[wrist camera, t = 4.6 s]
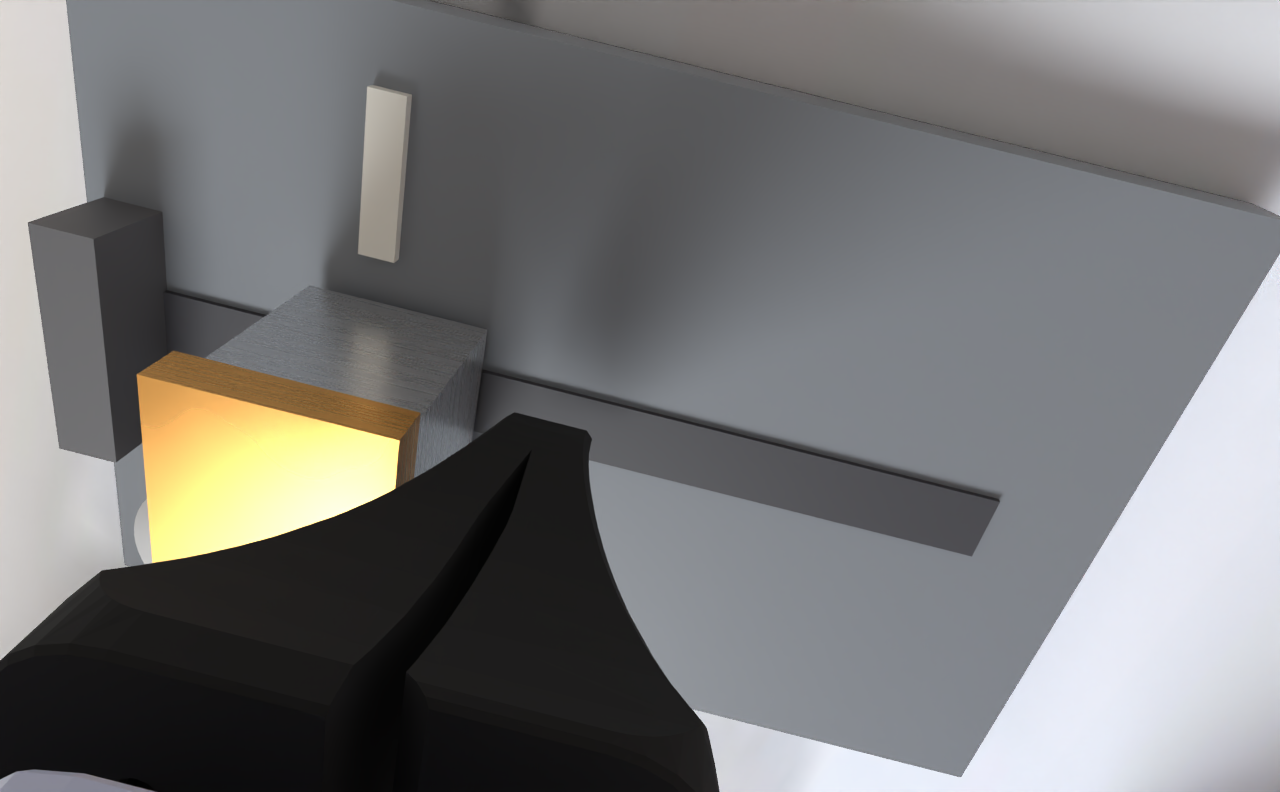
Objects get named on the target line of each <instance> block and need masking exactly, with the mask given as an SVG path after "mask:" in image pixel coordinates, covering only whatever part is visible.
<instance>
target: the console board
mask: <svg viewBox="0 0 1280 792" xmlns="http://www.w3.org/2000/svg"><path fill="white" fill-rule="evenodd" d="M66 4H67V13H68V23H69V33H70V42H71V52H72V62H73V71H74V81H75V90H76V100H77V110H78V119H79V129H80V139H81V148H82V158H83V168H84V177H85V187H86V196H87V203H85V204H82V205H79V206H76V207H73V208H70V209H67V210H64V211H61V212H58V213H55V214H52V215H49V216H46V217H43V218H40V219H37V220H34V221H31V222H28V227H29V234H30V241H31V249H32V256H33V263H34V270H35V277H36V284H37V292H38V299H39V306H40V313H41V320H42V327H43V334H44V342H45V349H46V356H47V363H48V370H49V377H50V384H51V392H52V399H53V406H54V413H55V420H56V427H57V434H58V442H59V448H60V449H64V450H68V451H72V452H76V453H80V454H84V455H88V456H92V457H96V458H100V459H104V460H108V461H112V462H114V466H115V476H116V486H117V495H118V505H119V514H120V524H121V534H122V543H123V553H124V563H125V565H128V566H137V565H143V564H149V563H152V552H151V540H150V528H149V516H148V504H147V492H146V480H145V468H144V456H143V444H142V432H141V420H140V408H139V396H138V384H137V374H138V373H139V372H141V371H143V370H144V369H146V368H147V367H149V366H150V365H152V364H153V363H155V362H157V361H158V360H160V359H161V358H163V357H164V356H166V355H168V354H169V353H171V352H172V351H177V352H181V353H185V354H189V355H193V356H197V357H201V358H205V357H207V356H208V355H210V354H211V353H213V352H214V351H216V350H217V349H218V348H220V347H221V346H223V345H224V344H226V343H227V342H229V341H230V340H231V339H233V338H234V337H236V336H237V335H239V334H240V333H242V332H243V331H244V330H246V329H247V328H249V327H250V326H252V325H253V324H255V323H256V322H257V321H259V320H260V319H262V318H263V317H265V316H266V315H268V314H269V313H270V312H272V311H273V310H275V309H276V308H278V307H279V306H281V305H282V304H283V303H285V302H286V301H288V300H289V299H291V298H292V297H294V296H295V295H296V294H298V293H299V292H301V291H302V290H304V289H305V288H307V287H308V286H309V285H311V286H315V287H319V288H323V289H327V290H331V291H335V292H339V293H343V294H347V295H351V296H355V297H359V298H363V299H367V300H371V301H375V302H379V303H383V304H387V305H391V306H395V307H399V308H403V309H407V310H411V311H415V312H419V313H423V314H427V315H431V316H435V317H439V318H443V319H447V320H451V321H455V322H459V323H463V324H467V325H471V326H475V327H479V328H483V329H487V336H486V344H485V351H484V358H483V365H482V372H481V379H480V387H479V394H478V401H477V408H476V415H475V422H474V430H473V437H472V441H473V440H475V439H476V438H478V437H479V436H481V435H482V434H483V433H485V432H486V431H487V430H489V429H490V428H492V427H493V426H494V425H496V424H497V423H498V422H500V421H501V420H502V419H504V418H505V417H507V416H508V415H510V414H512V413H514V412H516V413H520V414H524V415H528V416H532V417H536V418H539V419H543V420H547V421H551V422H555V423H559V424H563V425H567V426H571V427H575V428H579V429H583V430H587V431H588V433H589V435H590V436H591V438H592V442H591V447H590V451H589V478H590V487H591V494H592V499H593V505H594V511H595V516H596V521H597V525H598V529H599V533H600V537H601V540H602V544H603V548H604V551H605V554H606V557H607V560H608V563H609V566H610V569H611V572H612V574H613V577H614V579H615V582H616V585H617V587H618V590H619V592H620V594H621V596H622V599H623V601H624V603H625V605H626V607H627V610H628V612H629V614H630V616H631V618H632V620H633V621H634V623H635V625H636V627H637V629H638V630H639V632H640V634H641V636H642V638H643V639H644V641H645V643H646V645H647V647H648V648H649V650H650V652H651V654H652V656H653V657H654V659H655V660H656V662H657V663H658V665H659V666H660V668H661V669H662V671H663V672H664V674H665V675H666V677H667V678H668V680H669V681H670V683H671V684H672V685H673V687H674V688H675V689H676V690H677V692H678V693H679V694H680V695H681V696H682V698H683V699H684V700H685V701H686V703H687V704H688V705H689V706H690V708H691V709H694V710H698V711H702V712H706V713H710V714H714V715H718V716H721V717H725V718H729V719H733V720H737V721H741V722H745V723H749V724H753V725H757V726H761V727H765V728H769V729H773V730H777V731H780V732H784V733H788V734H792V735H796V736H800V737H804V738H808V739H812V740H816V741H820V742H824V743H828V744H832V745H836V746H839V747H843V748H847V749H851V750H855V751H859V752H863V753H867V754H871V755H875V756H879V757H883V758H887V759H891V760H895V761H898V762H902V763H906V764H910V765H914V766H918V767H922V768H926V769H930V770H934V771H938V772H942V773H946V774H950V775H954V776H957V777H961V776H962V775H963V773H964V771H965V770H966V768H967V766H968V765H969V763H970V761H971V760H972V758H973V757H974V755H975V753H976V752H977V750H978V748H979V747H980V745H981V743H982V742H983V740H984V738H985V737H986V735H987V734H988V732H989V730H990V729H991V727H992V725H993V724H994V722H995V720H996V719H997V717H998V715H999V714H1000V712H1001V711H1002V709H1003V707H1004V706H1005V704H1006V702H1007V701H1008V699H1009V697H1010V696H1011V694H1012V692H1013V691H1014V689H1015V688H1016V686H1017V684H1018V683H1019V681H1020V679H1021V678H1022V676H1023V674H1024V673H1025V671H1026V669H1027V668H1028V666H1029V664H1030V663H1031V661H1032V660H1033V658H1034V656H1035V655H1036V653H1037V651H1038V650H1039V648H1040V646H1041V645H1042V643H1043V641H1044V640H1045V638H1046V637H1047V635H1048V633H1049V632H1050V630H1051V628H1052V627H1053V625H1054V623H1055V622H1056V620H1057V618H1058V617H1059V615H1060V614H1061V612H1062V610H1063V609H1064V607H1065V605H1066V604H1067V602H1068V600H1069V599H1070V597H1071V595H1072V594H1073V592H1074V591H1075V589H1076V587H1077V586H1078V584H1079V582H1080V581H1081V579H1082V577H1083V576H1084V574H1085V572H1086V571H1087V569H1088V568H1089V566H1090V564H1091V563H1092V561H1093V559H1094V558H1095V556H1096V554H1097V553H1098V551H1099V549H1100V548H1101V546H1102V545H1103V543H1104V541H1105V540H1106V538H1107V536H1108V535H1109V533H1110V531H1111V530H1112V528H1113V526H1114V525H1115V523H1116V522H1117V520H1118V518H1119V517H1120V515H1121V513H1122V512H1123V510H1124V508H1125V507H1126V505H1127V503H1128V502H1129V500H1130V499H1131V497H1132V495H1133V494H1134V492H1135V490H1136V489H1137V487H1138V485H1139V484H1140V482H1141V480H1142V479H1143V477H1144V476H1145V474H1146V472H1147V471H1148V469H1149V467H1150V466H1151V464H1152V462H1153V461H1154V459H1155V457H1156V456H1157V454H1158V453H1159V451H1160V449H1161V448H1162V446H1163V444H1164V443H1165V441H1166V439H1167V438H1168V436H1169V434H1170V433H1171V431H1172V430H1173V428H1174V426H1175V425H1176V423H1177V421H1178V420H1179V418H1180V416H1181V415H1182V413H1183V411H1184V410H1185V408H1186V407H1187V405H1188V403H1189V402H1190V400H1191V398H1192V397H1193V395H1194V393H1195V392H1196V390H1197V388H1198V387H1199V385H1200V384H1201V382H1202V380H1203V379H1204V377H1205V375H1206V374H1207V372H1208V370H1209V369H1210V367H1211V365H1212V364H1213V362H1214V361H1215V359H1216V357H1217V356H1218V354H1219V352H1220V351H1221V349H1222V347H1223V346H1224V344H1225V342H1226V341H1227V339H1228V338H1229V336H1230V334H1231V333H1232V331H1233V329H1234V328H1235V326H1236V324H1237V323H1238V321H1239V319H1240V318H1241V316H1242V315H1243V313H1244V311H1245V310H1246V308H1247V306H1248V305H1249V303H1250V301H1251V300H1252V298H1253V296H1254V295H1255V293H1256V292H1257V290H1258V288H1259V287H1260V285H1261V283H1262V282H1263V280H1264V278H1265V277H1266V275H1267V273H1268V272H1269V270H1270V269H1271V267H1272V265H1273V264H1274V262H1275V260H1276V259H1277V257H1278V255H1279V254H1280V216H1278V215H1276V214H1274V213H1271V212H1269V211H1267V210H1265V209H1263V208H1260V207H1258V206H1256V205H1254V204H1251V203H1247V202H1243V201H1239V200H1235V199H1231V198H1227V197H1223V196H1219V195H1215V194H1211V193H1207V192H1203V191H1199V190H1195V189H1191V188H1187V187H1183V186H1179V185H1175V184H1171V183H1166V182H1162V181H1158V180H1154V179H1150V178H1146V177H1142V176H1138V175H1134V174H1130V173H1126V172H1122V171H1118V170H1114V169H1110V168H1106V167H1102V166H1098V165H1094V164H1090V163H1086V162H1081V161H1077V160H1073V159H1069V158H1065V157H1061V156H1057V155H1053V154H1049V153H1045V152H1041V151H1037V150H1033V149H1029V148H1025V147H1021V146H1017V145H1013V144H1009V143H1005V142H1000V141H996V140H992V139H988V138H984V137H980V136H976V135H972V134H968V133H964V132H960V131H956V130H952V129H948V128H944V127H940V126H936V125H932V124H928V123H924V122H920V121H915V120H911V119H907V118H903V117H899V116H895V115H891V114H887V113H883V112H879V111H875V110H871V109H867V108H863V107H859V106H855V105H851V104H847V103H843V102H839V101H834V100H830V99H826V98H822V97H818V96H814V95H810V94H806V93H802V92H798V91H794V90H790V89H786V88H782V87H778V86H774V85H770V84H766V83H762V82H758V81H753V80H749V79H745V78H741V77H737V76H733V75H729V74H725V73H721V72H717V71H713V70H709V69H705V68H701V67H697V66H693V65H689V64H685V63H681V62H677V61H673V60H668V59H664V58H660V57H656V56H652V55H648V54H644V53H640V52H636V51H632V50H628V49H624V48H620V47H616V46H612V45H608V44H604V43H600V42H596V41H592V40H587V39H583V38H579V37H575V36H571V35H567V34H563V33H559V32H555V31H551V30H547V29H543V28H539V27H535V26H531V25H527V24H523V23H519V22H515V21H511V20H506V19H502V18H498V17H494V16H490V15H486V14H482V13H478V12H474V11H470V10H466V9H462V8H458V7H454V6H450V5H446V4H442V3H438V2H434V1H430V0H66Z"/></svg>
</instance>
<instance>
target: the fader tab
mask: <svg viewBox="0 0 1280 792" xmlns="http://www.w3.org/2000/svg"><path fill="white" fill-rule="evenodd" d="M486 336H487V329H483V328H479V327H475V326H471V325H467V324H463V323H459V322H455V321H451V320H447V319H443V318H439V317H435V316H431V315H427V314H423V313H419V312H415V311H411V310H407V309H403V308H399V307H395V306H391V305H387V304H383V303H379V302H375V301H371V300H367V299H363V298H359V297H355V296H351V295H347V294H343V293H339V292H335V291H331V290H327V289H323V288H319V287H315V286H311V285H309V286H308V287H307V288H305V289H304V290H302V291H301V292H299V293H298V294H296V295H295V296H294V297H292V298H291V299H289V300H288V301H286V302H285V303H283V304H282V305H281V306H279V307H278V308H276V309H275V310H273V311H272V312H270V313H269V314H268V315H266V316H265V317H263V318H262V319H260V320H259V321H257V322H256V323H255V324H253V325H252V326H250V327H249V328H247V329H246V330H244V331H243V332H242V333H240V334H239V335H237V336H236V337H234V338H233V339H231V340H230V341H229V342H227V343H226V344H224V345H223V346H221V347H220V348H218V349H217V350H216V351H214V352H213V353H211V354H210V355H208V356H207V357H205V358H201V357H197V356H193V355H189V354H185V353H181V352H177V351H172V352H171V353H169V354H168V355H166V356H164V357H163V358H161V359H160V360H158V361H157V362H155V363H153V364H152V365H150V366H149V367H147V368H146V369H144V370H143V371H141V372H139V373H138V374H137V384H138V396H139V408H140V420H141V432H142V444H143V456H144V468H145V480H146V492H147V504H148V516H149V528H150V540H151V552H152V563H155V562H161V561H168V560H174V559H180V558H186V557H191V556H196V555H201V554H206V553H210V552H214V551H219V550H223V549H227V548H232V547H236V546H240V545H244V544H248V543H252V542H255V541H259V540H263V539H266V538H270V537H274V536H277V535H280V534H283V533H286V532H289V531H292V530H295V529H298V528H301V527H304V526H307V525H310V524H313V523H316V522H319V521H322V520H324V519H327V518H330V517H333V516H336V515H338V514H341V513H343V512H346V511H348V510H351V509H353V508H355V507H358V506H360V505H362V504H365V503H367V502H369V501H372V500H374V499H376V498H378V497H380V496H382V495H384V494H386V493H388V492H390V491H392V490H394V489H395V488H397V487H399V486H401V485H402V484H404V483H406V482H408V481H410V480H411V479H413V478H415V477H417V476H418V475H420V474H422V473H424V472H426V471H427V470H429V469H431V468H432V467H434V466H436V465H437V464H439V463H440V462H442V461H443V460H445V459H446V458H448V457H449V456H451V455H453V454H454V453H456V452H457V451H459V450H460V449H462V448H463V447H465V446H466V445H468V444H469V443H471V442H472V437H473V430H474V422H475V415H476V408H477V401H478V394H479V387H480V379H481V372H482V365H483V358H484V351H485V344H486Z"/></svg>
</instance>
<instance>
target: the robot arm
mask: <svg viewBox="0 0 1280 792" xmlns="http://www.w3.org/2000/svg"><path fill="white" fill-rule="evenodd" d="M591 442H592V438H591V436H590V435H589V433H588V431H587V430H583V429H579V428H575V427H571V426H567V425H563V424H559V423H555V422H551V421H547V420H543V419H539V418H536V417H532V416H528V415H524V414H520V413H516V412H514V413H512V414H510V415H508V416H507V417H505V418H504V419H502V420H501V421H500V422H498V423H497V424H496V425H494V426H493V427H492V428H490V429H489V430H487V431H486V432H485V433H483V434H482V435H481V436H479V437H478V438H476V439H475V440H473V441H472V442H471V443H469V444H468V445H466V446H465V447H463V448H462V449H460V450H459V451H457V452H456V453H454V454H453V455H451V456H449V457H448V458H446V459H445V460H443V461H442V462H440V463H439V464H437V465H436V466H434V467H432V468H431V469H429V470H427V471H426V472H424V473H422V474H420V475H418V476H417V477H415V478H413V479H411V480H410V481H408V482H406V483H404V484H402V485H401V486H399V487H397V488H395V489H394V490H392V491H390V492H388V493H386V494H384V495H382V496H380V497H378V498H376V499H374V500H372V501H369V502H367V503H365V504H362V505H360V506H358V507H355V508H353V509H351V510H348V511H346V512H343V513H341V514H338V515H336V516H333V517H330V518H327V519H324V520H322V521H319V522H316V523H313V524H310V525H307V526H304V527H301V528H298V529H295V530H292V531H289V532H286V533H283V534H280V535H277V536H274V537H270V538H266V539H263V540H259V541H255V542H252V543H248V544H244V545H240V546H236V547H232V548H227V549H223V550H219V551H214V552H210V553H206V554H201V555H196V556H191V557H186V558H180V559H174V560H168V561H161V562H155V563H149V564H143V565H137V566H131V567H125V568H118V569H110V570H102V571H101V572H100V573H98V574H97V575H96V576H95V577H93V578H92V579H91V580H90V581H88V582H87V583H86V584H85V585H83V586H82V587H81V588H80V589H78V590H77V591H76V592H75V593H73V594H72V595H71V596H70V597H69V598H67V599H66V600H65V601H64V602H63V603H62V604H61V605H60V606H59V607H58V608H57V609H56V610H55V611H54V612H52V613H51V614H50V615H49V616H48V617H47V618H46V619H45V620H44V621H43V622H42V623H41V624H39V625H38V626H37V627H36V628H35V629H34V630H33V631H32V632H31V633H30V634H29V635H28V636H26V637H25V638H24V639H23V640H22V641H21V642H20V643H19V644H18V645H17V646H16V647H14V648H13V649H12V650H11V651H10V652H9V653H8V654H7V655H6V656H5V657H4V658H3V659H1V660H0V792H719V786H718V780H717V774H716V768H715V763H714V758H713V753H712V749H711V744H710V740H709V735H708V731H707V728H706V726H705V725H704V724H703V722H702V721H701V720H700V719H699V717H698V716H697V715H696V714H695V712H694V711H693V710H692V709H691V708H690V706H689V705H688V704H687V703H686V701H685V700H684V699H683V698H682V696H681V695H680V694H679V693H678V692H677V690H676V689H675V688H674V687H673V685H672V684H671V683H670V681H669V680H668V678H667V677H666V675H665V674H664V672H663V671H662V669H661V668H660V666H659V665H658V663H657V662H656V660H655V659H654V657H653V656H652V654H651V652H650V650H649V648H648V647H647V645H646V643H645V641H644V639H643V638H642V636H641V634H640V632H639V630H638V629H637V627H636V625H635V623H634V621H633V620H632V618H631V616H630V614H629V612H628V610H627V607H626V605H625V603H624V601H623V599H622V596H621V594H620V592H619V590H618V587H617V585H616V582H615V579H614V577H613V574H612V572H611V569H610V566H609V563H608V560H607V557H606V554H605V551H604V548H603V544H602V540H601V537H600V533H599V529H598V525H597V521H596V516H595V511H594V505H593V499H592V494H591V487H590V478H589V451H590V447H591Z"/></svg>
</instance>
